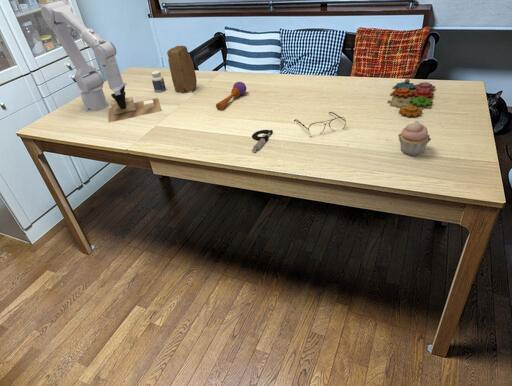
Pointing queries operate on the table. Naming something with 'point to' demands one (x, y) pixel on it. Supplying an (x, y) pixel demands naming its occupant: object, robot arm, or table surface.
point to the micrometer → (260, 139)
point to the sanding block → (129, 108)
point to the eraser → (149, 104)
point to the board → (139, 111)
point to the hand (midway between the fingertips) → (123, 105)
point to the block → (182, 69)
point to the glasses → (324, 123)
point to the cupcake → (414, 138)
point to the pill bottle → (158, 82)
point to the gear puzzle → (412, 97)
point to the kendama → (232, 94)
